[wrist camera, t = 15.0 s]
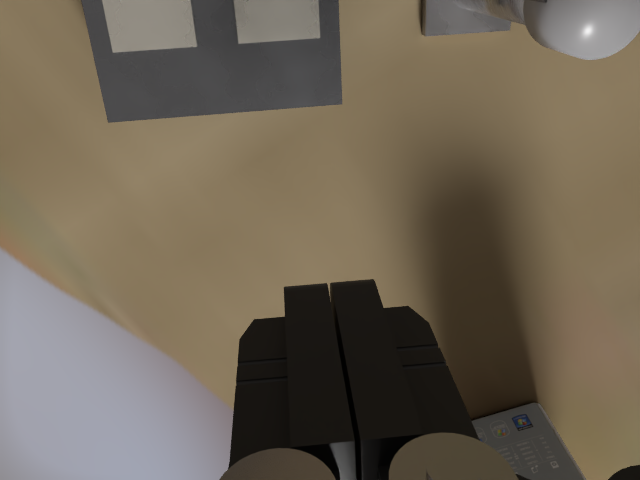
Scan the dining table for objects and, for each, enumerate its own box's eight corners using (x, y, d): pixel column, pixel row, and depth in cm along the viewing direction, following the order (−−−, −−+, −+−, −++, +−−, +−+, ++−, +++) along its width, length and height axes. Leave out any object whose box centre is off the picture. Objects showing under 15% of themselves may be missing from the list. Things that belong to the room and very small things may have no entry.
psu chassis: (321, -109, 30) (334, -121, 26) (330, 84, 35) (342, 105, 30) (87, -97, 30) (55, -107, 25) (126, 100, 34) (106, 123, 29)
